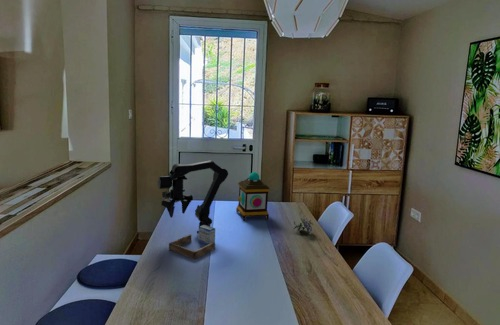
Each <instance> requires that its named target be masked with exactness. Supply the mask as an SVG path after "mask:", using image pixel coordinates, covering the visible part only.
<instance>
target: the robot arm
mask: <svg viewBox="0 0 500 325" xmlns="http://www.w3.org/2000/svg"><path fill="white" fill-rule="evenodd" d="M207 169H210V170H212V172H213V176H212V182H211V184H210V187H209V189H208V191H207V193H206V195H205V196H204V197H205V198H204V199H203V202H202V203H201V204H200V205H199V204H197V205H196V209H195V210H194V212H195V213H194V215H195V217H196V218H197V220H198V221H199V222H198V228H199V227H200V226H202V225H206V226H209V227H211V225H212V223H213V220H212V218H210V211H211V206H212V204H213V201H214V199H215V197H216V195H217V193H218V191H219V188H220V186H221V185H222V184H223V182H225V181H226V179H227V177H228V175H229V172H228V170H227V169H226V168H224V167H222V166H219V165H218V164H217V163H215V162H214V161H213V160H211V159H208V160H205V161H198V162H193V163H186V164H185V163H175V164H173V165H172V166H171V170H170V171H169V172H168V174H167V175H165V176H164V175H159V176H158V179H157V188H158V189H159V190H164V189H165V190H164V191H162V193H161V195H162V198H164V199H163V200H161V206H163V208H166V209H167V212H168V215H169V217H170V218H173V216H174V212H175V208H176V206H175V204H176V203H179V202H181V212H182V214H185V213H186V211H187V209H188V207H189V206H190V204H191V203H192V201H193V200H194V198H193V195H192V194H189V193H184V192H186V190H185V189H184V180H186V181H187V180H188V178H187V176H185V175H188V174H190V173H192V172H197V171H203V170H207ZM166 189H170V191H167V190H166ZM196 233H197V234H199V230H197V231H196Z"/></svg>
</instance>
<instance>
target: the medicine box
mask: <svg viewBox="0 0 500 325" xmlns="http://www.w3.org/2000/svg"><path fill="white" fill-rule="evenodd" d="M198 231H199V233H198V242H199V243H201V244H204V245H208V244H210V243H213V242H215V243H216V241H215V240H216V228H215V227H212V226H210V227H209V226H206V225H202V226H200V227H199V226H198Z"/></svg>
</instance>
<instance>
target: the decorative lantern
mask: <svg viewBox="0 0 500 325" xmlns="http://www.w3.org/2000/svg"><path fill="white" fill-rule="evenodd" d="M237 184H238V187H239V190H238V192H239V193H238V197H237V198H238V199H237V200H238V205H237V206H236V209H235V210H236V213H237V212H238V213H239V214H240V215H241V216H242V220H243V221H245V220H246V218H247V217H264V216H265V219H266V220H268V219H269V217H270V216H269V211H268V202H269V200H268V199H269V198H268V197H269V192H270V190H271V188H270V187H269V186H268V185H267V184H266V183H264V182H263V181H262V180H261V179H260V175H259V173H258V172H256V171H253V172H251V173H250V174H249V175H248V177H247V178H246V179H244V180H241V181H239V182H237Z"/></svg>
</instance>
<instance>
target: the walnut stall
mask: <svg viewBox="0 0 500 325" xmlns="http://www.w3.org/2000/svg"><path fill="white" fill-rule="evenodd" d="M190 242H192V234H188V235H185V236H183V237H180V238H178V239H175V240H173V241H171V242H169V244H168V250H169V251H171V252H174V253H176V254H179V255H182V256H184V257H187V258H190V259H193V260H197V259H199V258H201V257H202V256H203V255H206V254H208V253H210V252H211V251H215V249H216V241H215V242H213V243H210V244H208V245H207V244H205V246H202V247H201V248H198V249H196V250H193V249H189V248H186V247H184V246H183V245H185V244H189V243H190Z"/></svg>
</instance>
